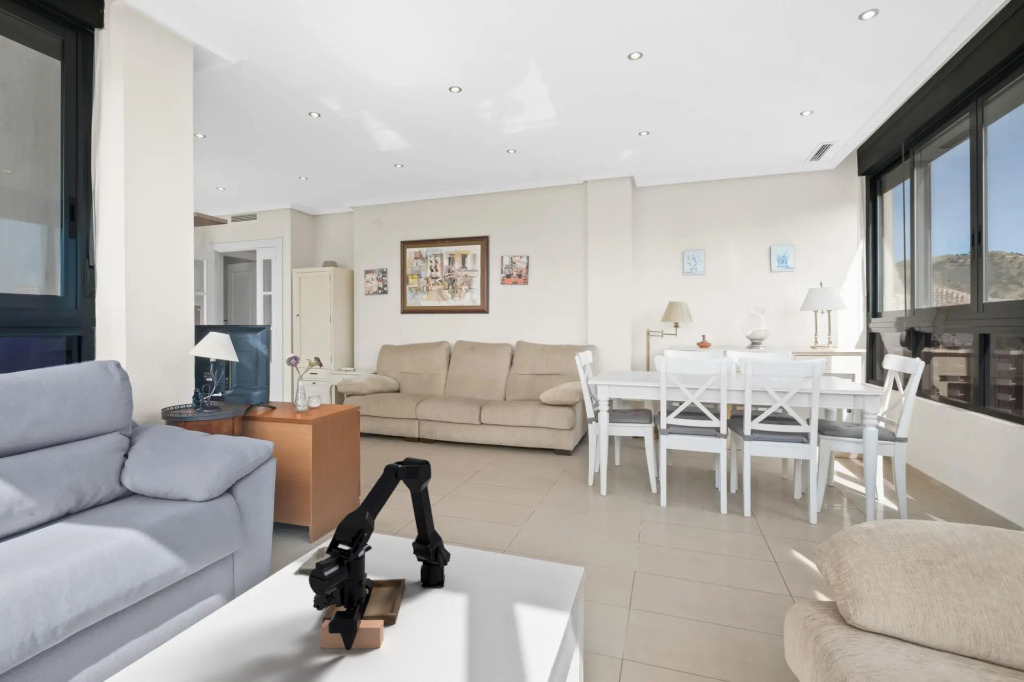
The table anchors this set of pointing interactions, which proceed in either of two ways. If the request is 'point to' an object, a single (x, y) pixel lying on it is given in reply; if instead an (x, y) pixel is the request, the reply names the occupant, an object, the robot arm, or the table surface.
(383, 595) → the tray
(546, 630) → the table surface
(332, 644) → the light brown rectangular block
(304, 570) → the fossil rock
